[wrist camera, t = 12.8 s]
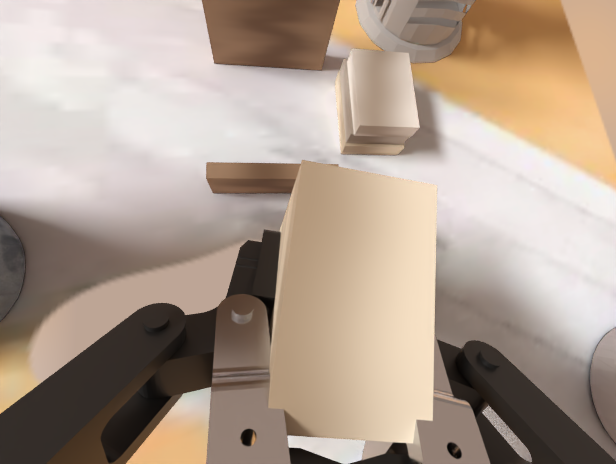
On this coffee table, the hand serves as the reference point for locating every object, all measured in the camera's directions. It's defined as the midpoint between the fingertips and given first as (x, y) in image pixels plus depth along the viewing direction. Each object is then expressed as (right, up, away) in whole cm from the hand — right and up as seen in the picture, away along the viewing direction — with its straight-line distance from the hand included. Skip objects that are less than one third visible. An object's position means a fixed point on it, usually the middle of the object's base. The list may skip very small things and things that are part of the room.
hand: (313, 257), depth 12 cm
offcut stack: (+4, +10, +11) cm, 15 cm away
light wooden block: (-1, -3, +4) cm, 5 cm away
